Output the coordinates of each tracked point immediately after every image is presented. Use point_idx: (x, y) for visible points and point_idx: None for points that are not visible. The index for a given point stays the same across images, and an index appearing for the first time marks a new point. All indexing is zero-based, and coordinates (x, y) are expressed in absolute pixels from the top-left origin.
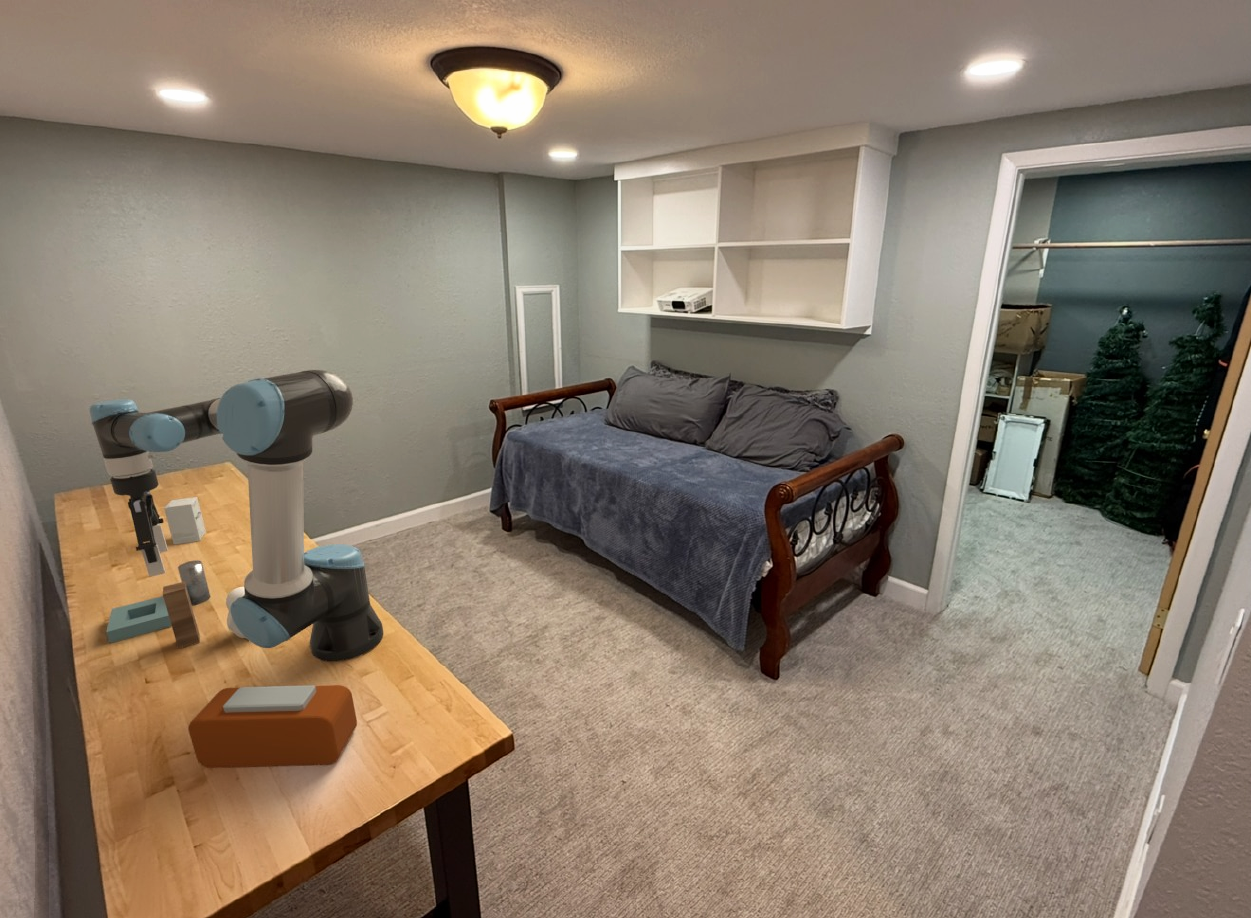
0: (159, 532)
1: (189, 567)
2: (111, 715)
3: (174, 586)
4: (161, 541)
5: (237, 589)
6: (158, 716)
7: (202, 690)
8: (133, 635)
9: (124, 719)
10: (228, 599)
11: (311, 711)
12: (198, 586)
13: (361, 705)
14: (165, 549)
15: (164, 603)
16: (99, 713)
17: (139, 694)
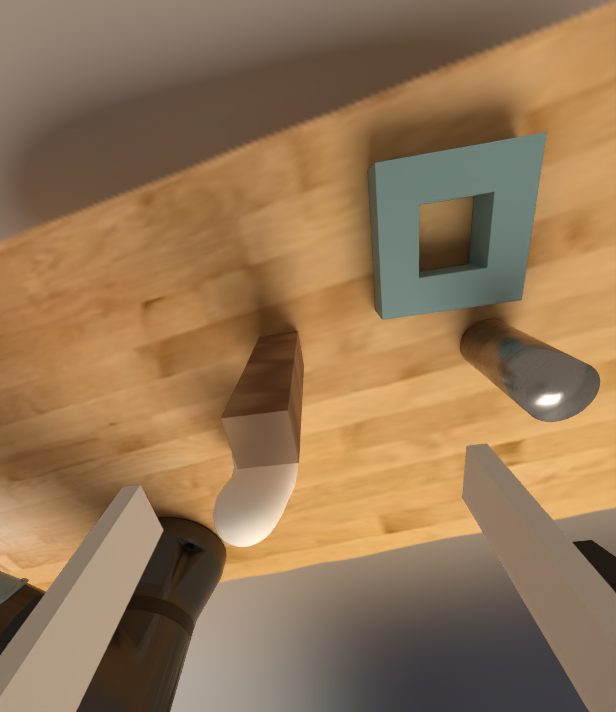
0: (560, 645)
1: (539, 394)
2: (43, 263)
3: (270, 441)
4: (503, 552)
5: (235, 538)
6: (30, 344)
7: (94, 396)
8: (371, 227)
9: (28, 290)
10: (224, 506)
11: None
12: (485, 372)
13: (24, 554)
14: (468, 501)
15: (466, 291)
16: (53, 237)
17: (105, 298)
